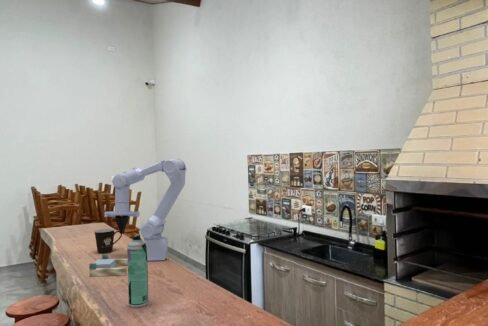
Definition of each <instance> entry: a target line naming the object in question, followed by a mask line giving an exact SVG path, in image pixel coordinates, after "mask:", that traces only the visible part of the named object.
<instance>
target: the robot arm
mask: <svg viewBox="0 0 488 326" xmlns="http://www.w3.org/2000/svg"><path fill="white" fill-rule="evenodd" d="M158 172H160V173H161V172H162V173H164V174H165V175H166V176H167V178H168V179H169V181H170V185H169V186H168V188H167V189H166V191H165V194H164V195H163V197H162V199H161V201H160V202H159V204H158V206H157V208H156V209H155V211H154V213H153V215H152V216H151V217H150V218H149V219H148V220H147V221H146V223H144V224H142V226H141V228H140V233H141V234H140V235H141V236H142V237H143V241H144V242H146V243H147V244H146V245H147V262H151V261H153V262H155V261H165V260H166V259H167V258H168V256H169V254H168V253H169V251H168V248H169V247H168V238H167V237H165V236H162V233H163V232H164V229H165V224H166V222H167V221H166V218H167V217H168V215H169V213H170V211H171V209H172V208H173V206H174V205H175V202H176V201H177V199H178V197H179V196H180V194H181V192H182V191H183V189H184V187H185V185H186V172H187V166H186V163H185V161H184V160H183V159H180V158H174V159H172V158H168V159H165V160H160V161H158V162H156V163H153V164H151V165H148V166H147V167H144V168H141V167H137V166H136V167H132V169H131V170H129V171H123V172H122V174H118V173H117V174H116V175H114V176H113V178H112V181H111V183H112V186H114V211H104V218H107V217H114V221H115V223H116V224H117V225H116V226H118V231H120V233H119V234H120V235H121V234H122V235H123V234H125V230H126V227H127V224H128V222H129V220H130V217H136V218H138V217H140V216H141V215H140V211H133V210H132V211H130V186H132V185H133V184H137V183H139V182H141V181H144V179H145V177H146V176H149V175H153V174H155V173H158Z"/></svg>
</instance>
